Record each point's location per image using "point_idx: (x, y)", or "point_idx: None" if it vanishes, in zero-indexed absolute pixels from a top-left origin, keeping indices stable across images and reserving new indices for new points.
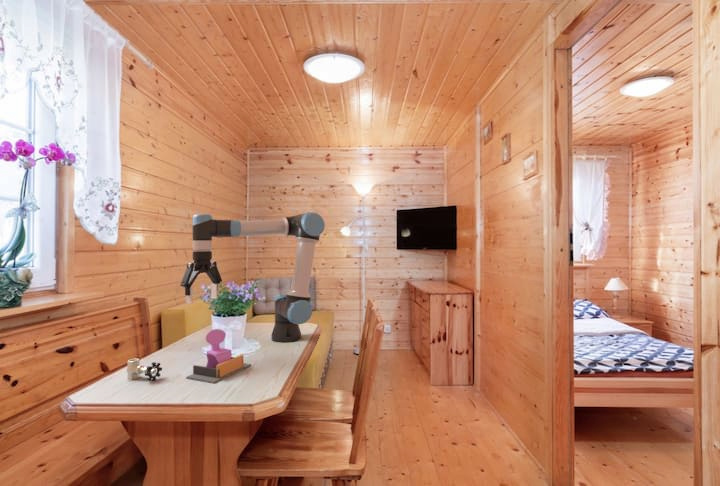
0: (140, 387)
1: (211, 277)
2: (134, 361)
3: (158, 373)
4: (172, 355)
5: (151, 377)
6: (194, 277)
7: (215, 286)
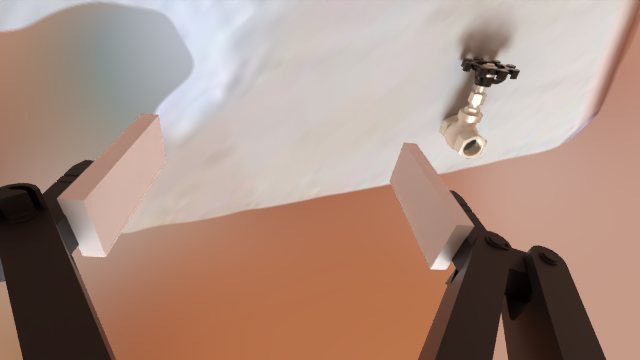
0: (523, 56)
1: (95, 313)
2: (482, 137)
3: (472, 61)
4: (281, 163)
5: (492, 62)
6: (483, 328)
7: (103, 189)
